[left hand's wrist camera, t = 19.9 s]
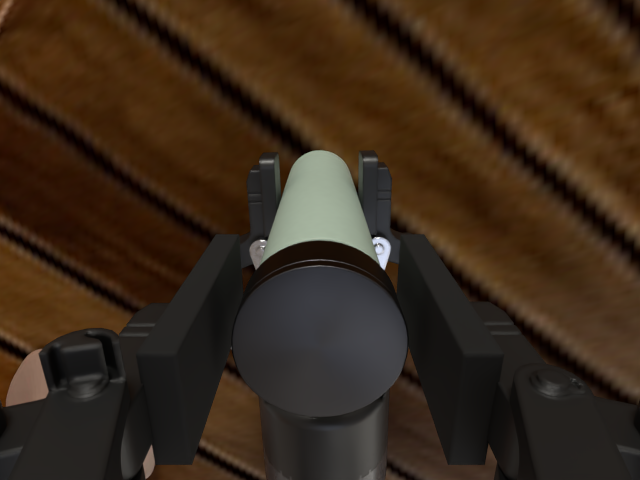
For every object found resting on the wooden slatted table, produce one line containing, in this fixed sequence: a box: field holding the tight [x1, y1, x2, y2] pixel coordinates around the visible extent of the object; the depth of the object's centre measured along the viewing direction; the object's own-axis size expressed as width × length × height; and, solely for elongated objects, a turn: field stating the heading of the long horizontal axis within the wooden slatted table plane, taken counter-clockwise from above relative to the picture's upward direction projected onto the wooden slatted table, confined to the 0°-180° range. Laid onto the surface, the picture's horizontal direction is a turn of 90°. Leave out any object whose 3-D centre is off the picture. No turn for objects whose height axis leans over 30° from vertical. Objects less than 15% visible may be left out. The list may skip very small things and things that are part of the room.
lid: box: [231, 240, 409, 417], centre depth 11 cm, size 4×4×2 cm
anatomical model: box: [6, 349, 155, 479], centre depth 32 cm, size 13×4×12 cm
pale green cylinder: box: [259, 150, 381, 266], centre depth 19 cm, size 4×4×17 cm
